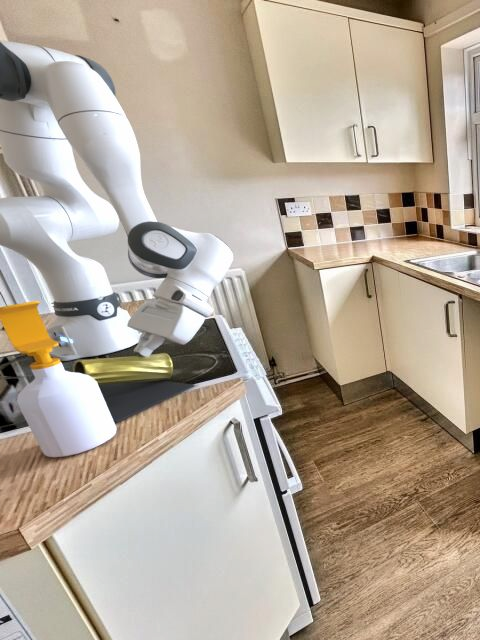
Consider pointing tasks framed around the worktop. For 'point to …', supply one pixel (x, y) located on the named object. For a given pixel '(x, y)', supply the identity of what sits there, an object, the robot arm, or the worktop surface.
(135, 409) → the mat
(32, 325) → the soap bottle
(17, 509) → the worktop surface
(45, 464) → the worktop surface
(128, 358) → the vase
